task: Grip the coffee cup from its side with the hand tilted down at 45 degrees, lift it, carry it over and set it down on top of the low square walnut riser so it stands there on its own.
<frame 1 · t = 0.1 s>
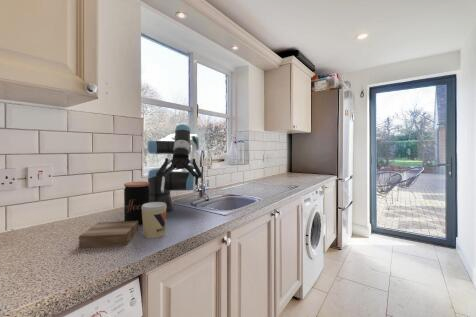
hand: (178, 191, 100), 15 cm above the counter, tool tilted 35°, fingers open, 13 cm apart
coffee cup: (154, 235, 90), on the counter
coffee jar: (137, 222, 105), on the counter
walnut riser: (111, 238, 86), on the counter
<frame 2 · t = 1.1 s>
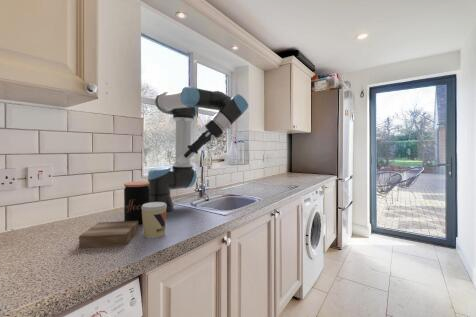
hand: (180, 162, 93), 28 cm above the counter, tool tilted 45°, fingers open, 13 cm apart
nothing on the counter moved.
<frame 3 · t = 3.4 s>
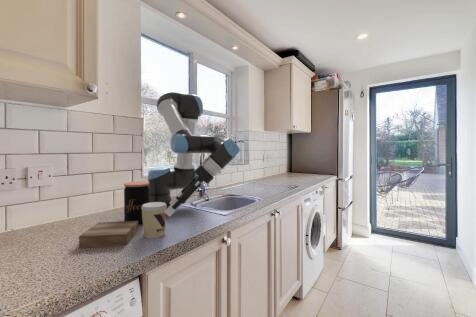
hand: (169, 209, 89), 10 cm above the counter, tool tilted 45°, fingers open, 13 cm apart
nothing on the counter moved.
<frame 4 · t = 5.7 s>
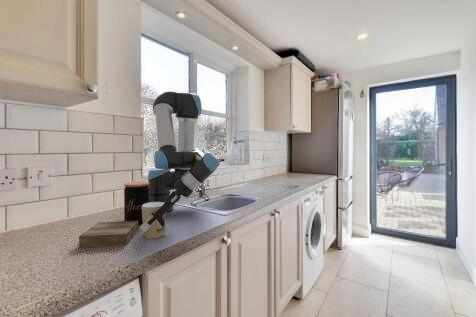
hand: (145, 225, 89), 4 cm above the counter, tool tilted 45°, fingers closed on coffee cup, 9 cm apart
coffee cup: (154, 235, 90), on the counter, touching gripper
everything else where it was.
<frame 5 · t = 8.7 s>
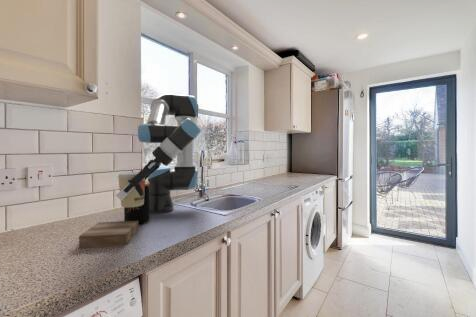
hand: (123, 195, 85), 16 cm above the counter, tool tilted 45°, fingers closed on coffee cup, 9 cm apart
coffee cup: (132, 205, 86), point 12 cm above the counter, touching gripper
everything else where it was.
when the fingers open (9 cm above the counter, at t = 11.8 s): coffee cup stays where it is, resting on walnut riser.
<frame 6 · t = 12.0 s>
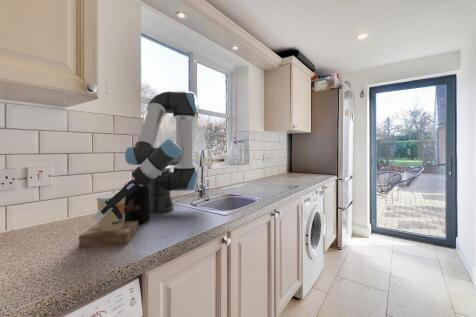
hand: (103, 213, 85), 9 cm above the counter, tool tilted 45°, fingers open, 11 cm apart
coffee cup: (111, 228, 86), point 4 cm above the counter, touching walnut riser
everything else where it was.
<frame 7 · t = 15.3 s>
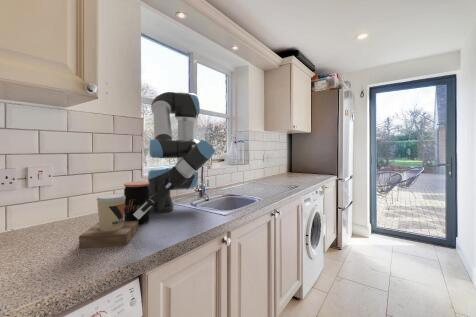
hand: (141, 211, 87), 10 cm above the counter, tool tilted 45°, fingers open, 13 cm apart
nothing on the counter moved.
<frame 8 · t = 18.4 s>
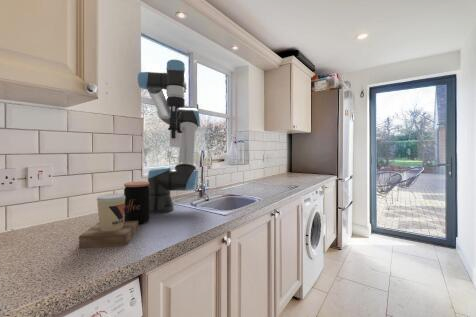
hand: (175, 146, 100), 35 cm above the counter, tool pointing down, fingers open, 13 cm apart
nothing on the counter moved.
at the end: coffee cup inside the target area on the walnut riser (0.1 cm from its centre), point 3.8 cm above the walnut riser's base; coffee cup tilted 0°; the gripper is holding nothing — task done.
